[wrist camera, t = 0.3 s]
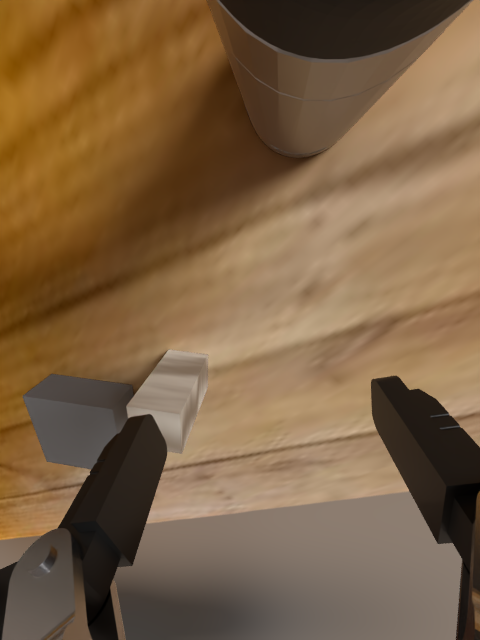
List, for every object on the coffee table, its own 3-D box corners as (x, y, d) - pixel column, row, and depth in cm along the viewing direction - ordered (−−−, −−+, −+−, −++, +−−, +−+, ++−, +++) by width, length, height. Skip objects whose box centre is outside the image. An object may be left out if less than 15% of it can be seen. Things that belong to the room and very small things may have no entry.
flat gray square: (53, 372, 37) (22, 396, 33) (133, 383, 36) (112, 409, 32) (71, 433, 42) (46, 461, 38) (142, 445, 41) (125, 475, 37)
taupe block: (168, 349, 33) (126, 406, 24) (208, 354, 32) (180, 414, 23) (170, 381, 35) (132, 445, 26) (207, 387, 34) (181, 453, 25)
